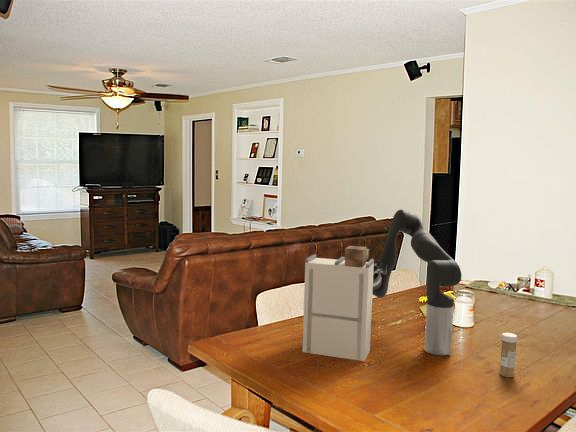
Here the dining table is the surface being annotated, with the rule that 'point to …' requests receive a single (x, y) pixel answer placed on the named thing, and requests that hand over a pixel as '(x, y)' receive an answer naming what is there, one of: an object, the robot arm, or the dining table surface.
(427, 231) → the robot arm
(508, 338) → the sprinkles bottle
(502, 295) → the dining table surface
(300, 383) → the dining table surface
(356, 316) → the off-white tall box
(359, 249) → the walnut bar
